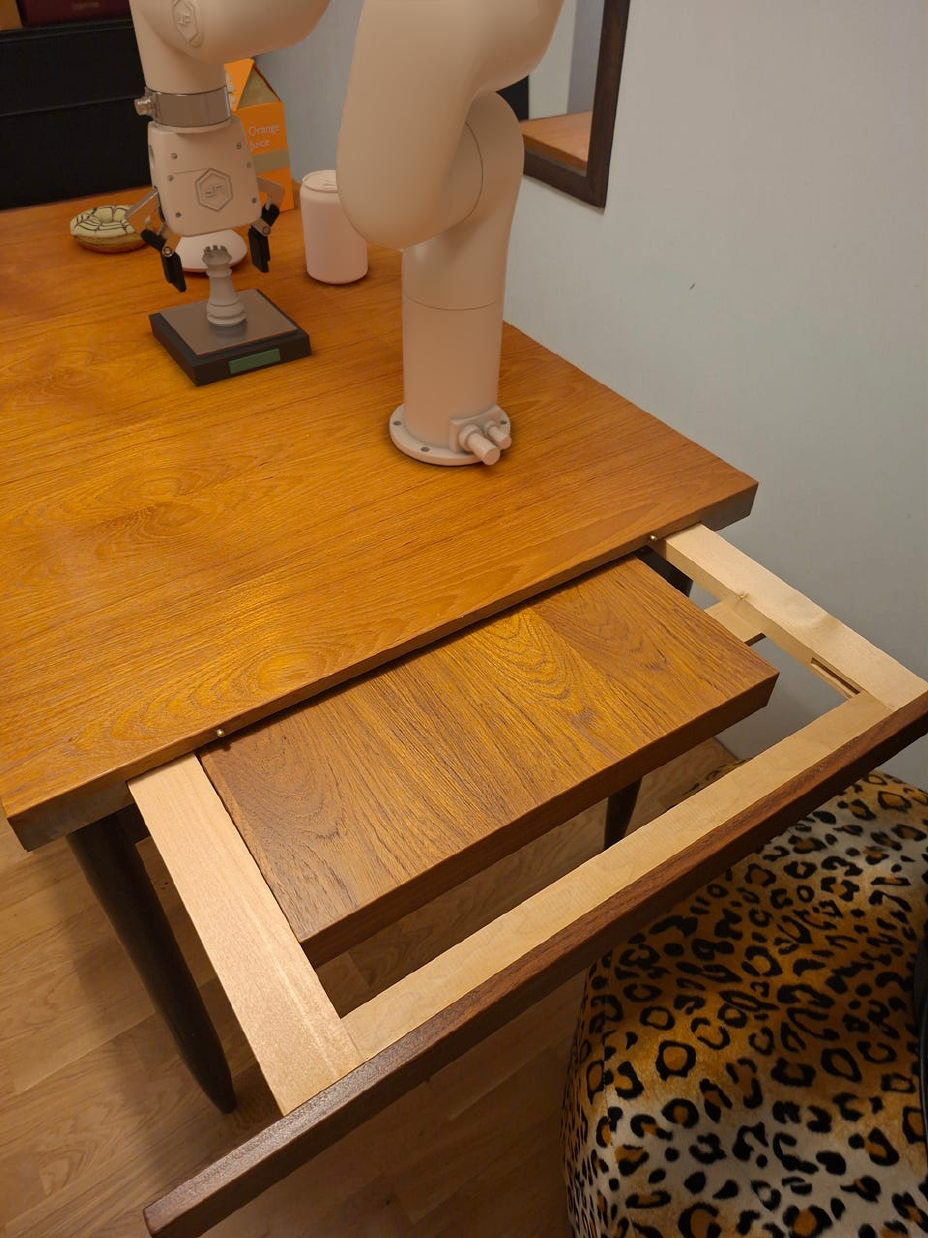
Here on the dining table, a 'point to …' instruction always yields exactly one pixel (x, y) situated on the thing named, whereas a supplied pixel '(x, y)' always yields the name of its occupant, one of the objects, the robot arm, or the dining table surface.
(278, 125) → the orange juice
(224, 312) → the rook chess piece
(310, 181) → the beverage can
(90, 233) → the decorated donut
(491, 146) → the robot arm
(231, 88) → the flower in vase
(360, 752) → the dining table surface
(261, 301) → the platter
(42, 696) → the dining table surface
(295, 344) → the scale
